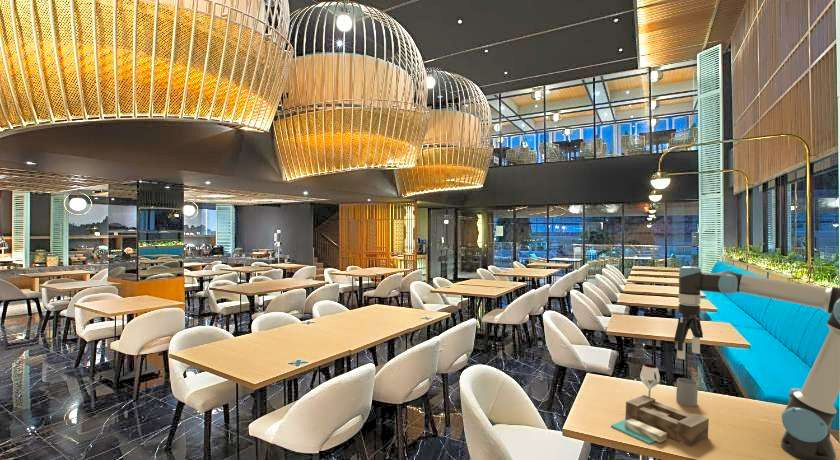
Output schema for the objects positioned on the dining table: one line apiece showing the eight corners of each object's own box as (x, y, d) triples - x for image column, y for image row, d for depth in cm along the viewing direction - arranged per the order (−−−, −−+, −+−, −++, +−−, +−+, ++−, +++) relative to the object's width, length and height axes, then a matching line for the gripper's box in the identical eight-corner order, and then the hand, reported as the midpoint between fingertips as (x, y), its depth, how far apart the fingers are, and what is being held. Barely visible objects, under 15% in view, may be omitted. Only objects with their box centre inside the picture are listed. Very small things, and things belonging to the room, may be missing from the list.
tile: (666, 439, 166) (666, 432, 166) (659, 442, 163) (660, 436, 163) (631, 424, 178) (632, 418, 178) (624, 427, 175) (625, 421, 175)
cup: (672, 400, 205) (673, 379, 204) (683, 397, 208) (684, 377, 208) (689, 407, 197) (690, 386, 197) (701, 404, 200) (701, 383, 200)
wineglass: (641, 399, 205) (642, 361, 205) (660, 404, 200) (662, 365, 200) (637, 404, 199) (638, 366, 198) (657, 409, 194) (658, 370, 193)
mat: (666, 436, 170) (666, 434, 170) (649, 444, 163) (649, 442, 163) (627, 419, 183) (627, 418, 183) (611, 426, 176) (611, 425, 176)
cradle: (707, 437, 170) (708, 418, 169) (690, 446, 162) (691, 427, 162) (643, 411, 191) (644, 395, 191) (625, 418, 184) (626, 401, 184)
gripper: (692, 300, 186) (692, 348, 187) (665, 305, 172) (664, 358, 172) (712, 302, 180) (711, 352, 180) (685, 308, 166) (684, 363, 166)
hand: (688, 355), depth 176 cm, fingers open, 13 cm apart
